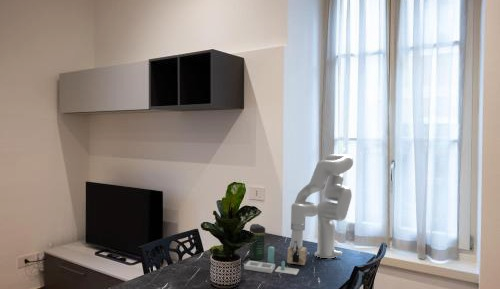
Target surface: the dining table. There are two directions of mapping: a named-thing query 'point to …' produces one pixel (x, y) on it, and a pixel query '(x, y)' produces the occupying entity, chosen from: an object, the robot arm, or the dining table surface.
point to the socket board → (259, 266)
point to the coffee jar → (257, 242)
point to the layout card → (286, 269)
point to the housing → (301, 254)
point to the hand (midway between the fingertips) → (296, 259)
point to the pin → (271, 255)
